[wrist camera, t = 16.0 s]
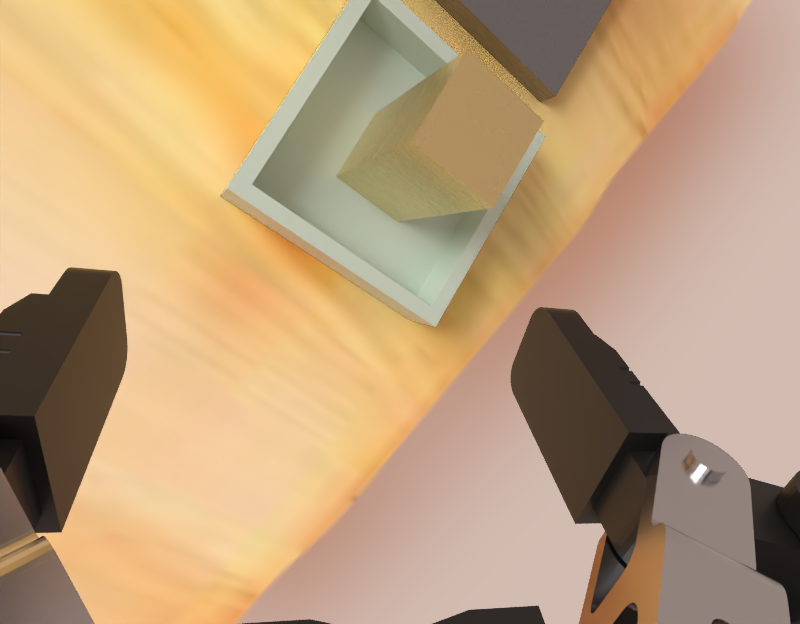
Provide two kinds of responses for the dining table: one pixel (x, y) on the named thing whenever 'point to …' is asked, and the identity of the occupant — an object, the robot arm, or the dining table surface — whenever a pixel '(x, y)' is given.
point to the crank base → (531, 35)
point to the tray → (329, 149)
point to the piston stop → (442, 144)
